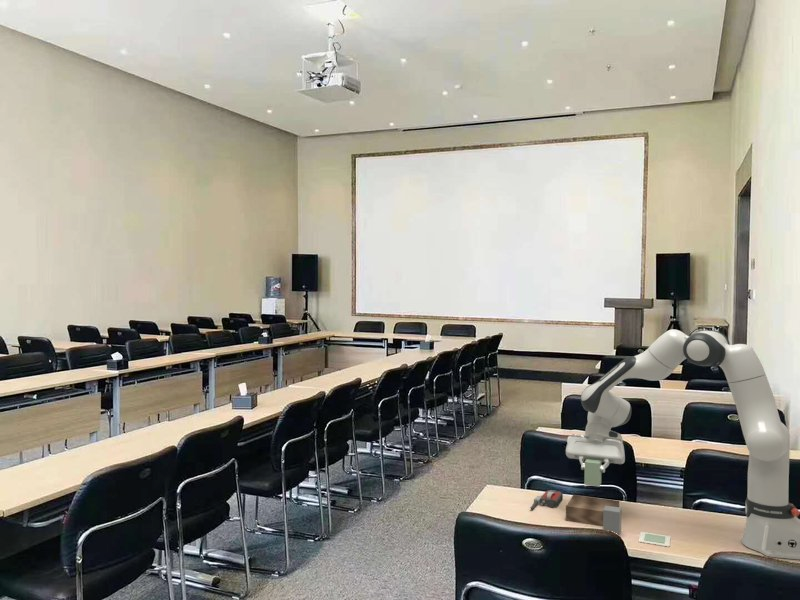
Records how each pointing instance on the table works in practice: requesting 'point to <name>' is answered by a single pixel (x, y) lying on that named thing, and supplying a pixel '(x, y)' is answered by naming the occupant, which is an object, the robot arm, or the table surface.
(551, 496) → the walkie-talkie
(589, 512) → the walnut plinth
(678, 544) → the table surface
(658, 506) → the table surface
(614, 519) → the grey block
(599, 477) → the sage block
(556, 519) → the table surface
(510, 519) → the table surface
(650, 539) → the swatch
